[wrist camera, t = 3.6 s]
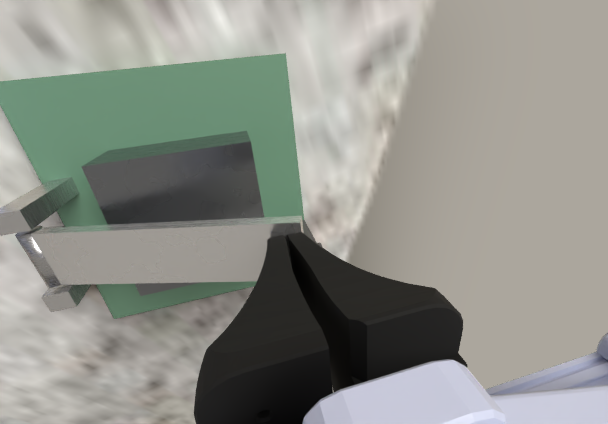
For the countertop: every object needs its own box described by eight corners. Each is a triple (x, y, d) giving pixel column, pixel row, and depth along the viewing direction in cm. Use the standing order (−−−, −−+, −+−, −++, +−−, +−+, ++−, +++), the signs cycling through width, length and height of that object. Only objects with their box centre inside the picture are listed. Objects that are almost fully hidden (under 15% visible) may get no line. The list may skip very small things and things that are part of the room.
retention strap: (58, 275, 15) (42, 287, 15) (29, 226, 14) (9, 237, 13) (308, 269, 14) (306, 283, 13) (302, 213, 12) (299, 224, 12)
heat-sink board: (118, 309, 22) (86, 378, 17) (2, 82, 15) (-113, 84, 10) (307, 266, 25) (327, 315, 20) (282, 54, 18) (305, 45, 13)
